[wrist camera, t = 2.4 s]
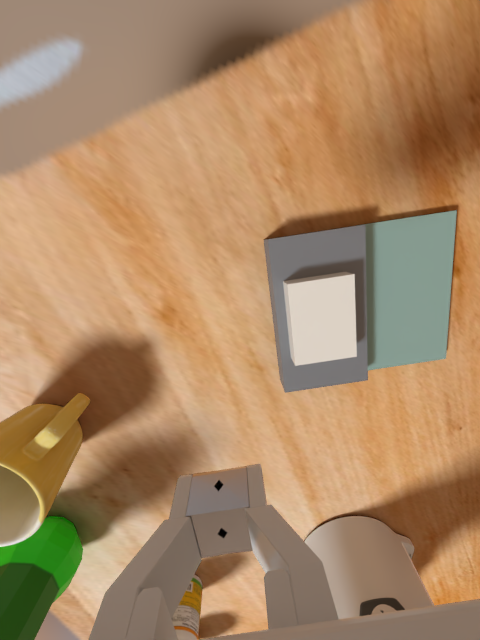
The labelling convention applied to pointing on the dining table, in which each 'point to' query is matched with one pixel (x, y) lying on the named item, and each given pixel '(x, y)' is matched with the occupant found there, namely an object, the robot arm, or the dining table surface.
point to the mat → (409, 288)
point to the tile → (321, 317)
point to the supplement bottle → (189, 612)
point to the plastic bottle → (36, 576)
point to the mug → (35, 463)
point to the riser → (308, 261)
